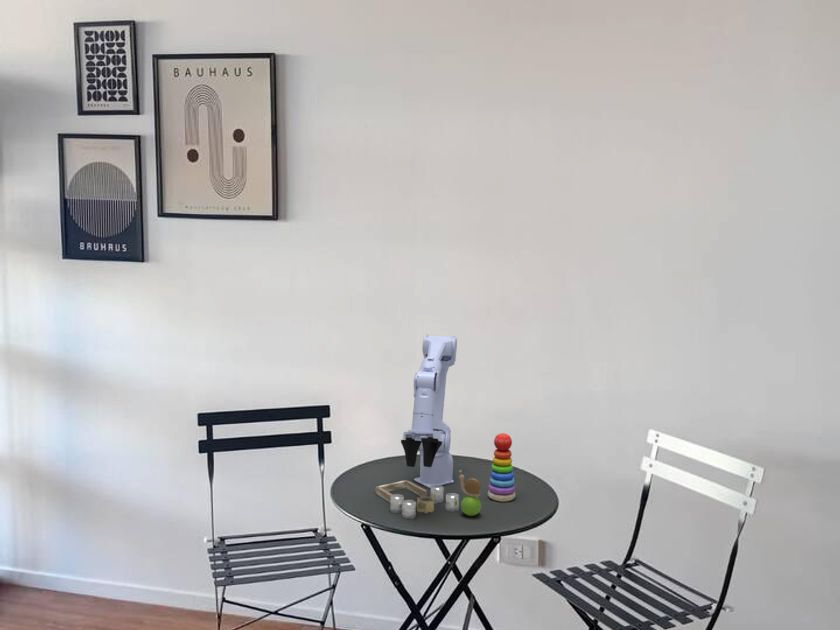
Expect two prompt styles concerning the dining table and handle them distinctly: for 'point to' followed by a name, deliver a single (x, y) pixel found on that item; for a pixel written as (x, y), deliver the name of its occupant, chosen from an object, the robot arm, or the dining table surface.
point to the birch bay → (385, 489)
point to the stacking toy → (502, 470)
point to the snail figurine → (470, 495)
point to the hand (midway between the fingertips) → (418, 466)
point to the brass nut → (425, 504)
